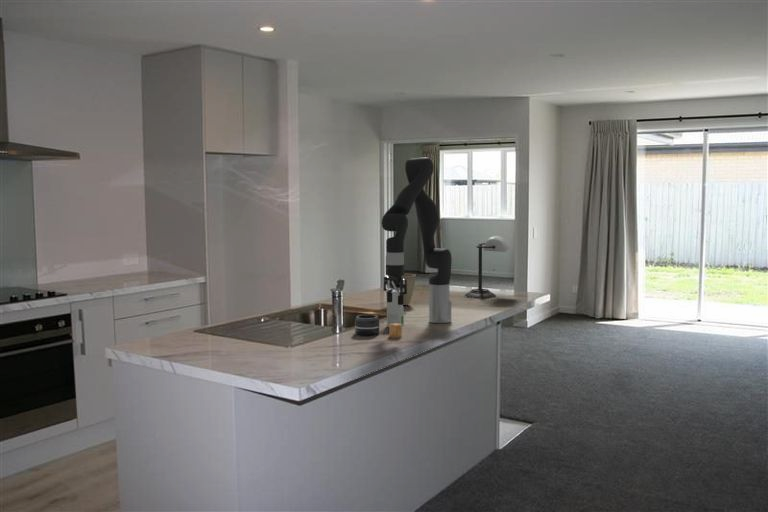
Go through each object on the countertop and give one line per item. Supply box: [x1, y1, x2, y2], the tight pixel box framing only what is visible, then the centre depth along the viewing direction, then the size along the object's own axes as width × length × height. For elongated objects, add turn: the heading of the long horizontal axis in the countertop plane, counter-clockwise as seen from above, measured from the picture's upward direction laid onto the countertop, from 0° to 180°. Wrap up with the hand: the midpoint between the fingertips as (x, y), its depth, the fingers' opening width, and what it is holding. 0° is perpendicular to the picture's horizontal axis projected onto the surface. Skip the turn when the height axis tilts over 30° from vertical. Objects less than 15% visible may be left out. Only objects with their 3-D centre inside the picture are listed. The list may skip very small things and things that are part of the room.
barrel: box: [354, 314, 380, 337], centre depth 272 cm, size 10×10×7 cm
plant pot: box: [393, 273, 417, 306], centre depth 343 cm, size 15×15×16 cm
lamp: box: [464, 235, 510, 299], centre depth 370 cm, size 26×24×34 cm
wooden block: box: [388, 323, 403, 339], centre depth 267 cm, size 5×6×5 cm
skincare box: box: [385, 290, 405, 328], centre depth 289 cm, size 8×7×16 cm
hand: (395, 303), depth 266 cm, fingers open, 8 cm apart
